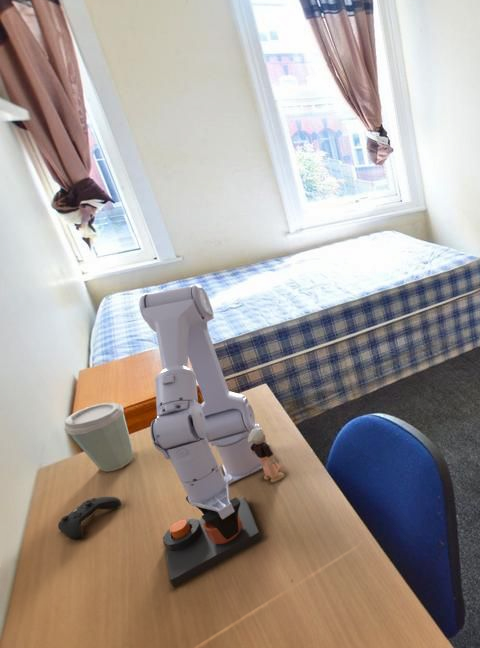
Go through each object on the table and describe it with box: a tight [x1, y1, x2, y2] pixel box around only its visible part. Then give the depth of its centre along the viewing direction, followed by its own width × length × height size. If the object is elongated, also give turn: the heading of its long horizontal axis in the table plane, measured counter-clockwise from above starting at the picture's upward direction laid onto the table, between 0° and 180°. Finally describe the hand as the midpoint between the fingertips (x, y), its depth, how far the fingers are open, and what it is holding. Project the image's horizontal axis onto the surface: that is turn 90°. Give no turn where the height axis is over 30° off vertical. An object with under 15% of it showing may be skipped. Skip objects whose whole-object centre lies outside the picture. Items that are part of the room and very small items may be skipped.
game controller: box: [57, 496, 122, 541], centre depth 95 cm, size 10×5×6 cm
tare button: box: [169, 519, 190, 539], centre depth 86 cm, size 3×3×2 cm
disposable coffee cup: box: [63, 401, 134, 473], centre depth 109 cm, size 11×11×15 cm
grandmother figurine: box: [248, 427, 285, 483], centre depth 100 cm, size 8×4×13 cm, turn 71°
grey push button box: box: [162, 496, 263, 589], centre depth 87 cm, size 14×12×4 cm
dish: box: [203, 515, 243, 544], centre depth 86 cm, size 5×5×4 cm
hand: (225, 527), depth 86 cm, fingers closed on dish, 5 cm apart
